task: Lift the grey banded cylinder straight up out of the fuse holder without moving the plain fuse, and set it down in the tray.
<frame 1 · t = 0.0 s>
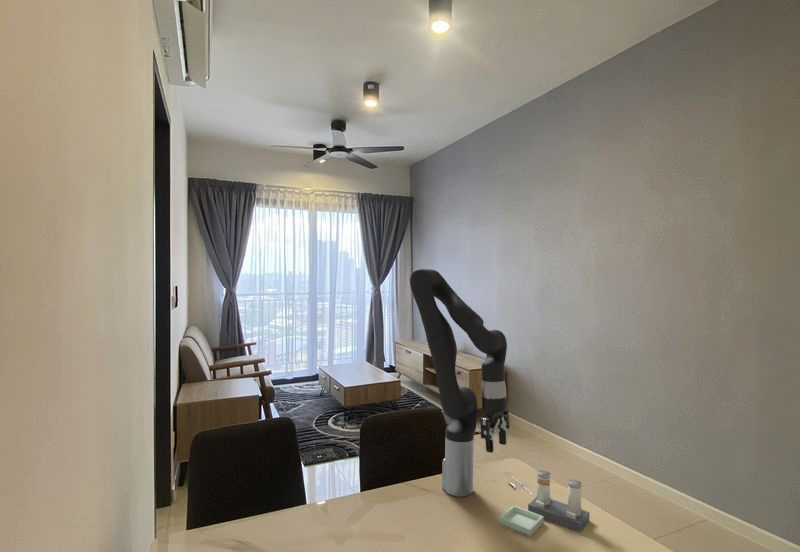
hand: (496, 448, 132), 17 cm above the table, tool pointing down, fingers open, 8 cm apart
picture light: (517, 487, 144), on the table
plain fuse: (574, 513, 122), point 2 cm above the table, touching fuse holder
fuse holder: (558, 516, 125), on the table
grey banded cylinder: (543, 502, 128), point 2 cm above the table, touching fuse holder
tray: (521, 524, 121), on the table
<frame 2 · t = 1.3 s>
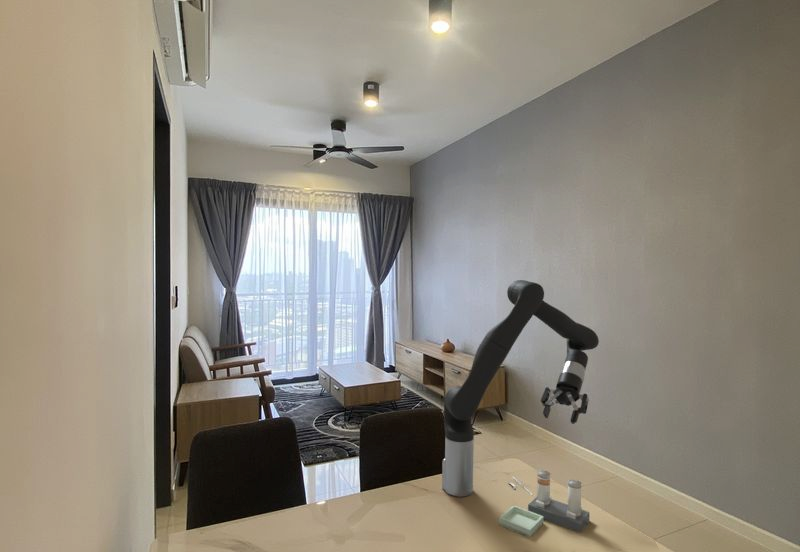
hand: (558, 419, 137), 25 cm above the table, tool tilted 45°, fingers open, 8 cm apart
nothing on the table moved.
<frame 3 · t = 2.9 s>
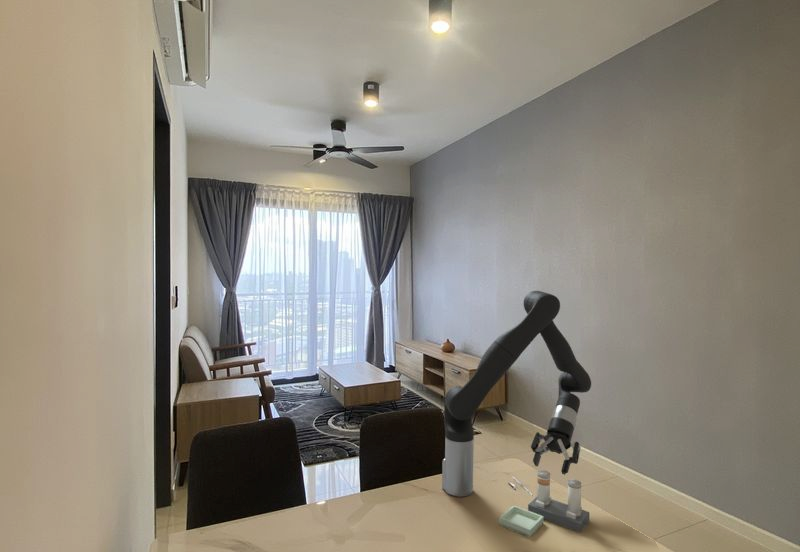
hand: (549, 469, 132), 11 cm above the table, tool tilted 45°, fingers open, 8 cm apart
nothing on the table moved.
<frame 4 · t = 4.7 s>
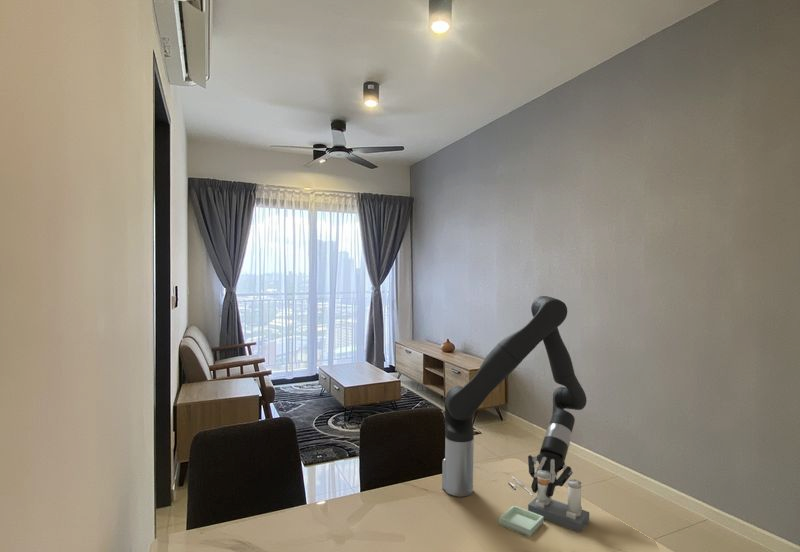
hand: (541, 493, 127), 6 cm above the table, tool tilted 45°, fingers closed on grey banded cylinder, 3 cm apart
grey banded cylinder: (543, 502, 128), point 3 cm above the table, touching fuse holder, gripper
everything else where it was.
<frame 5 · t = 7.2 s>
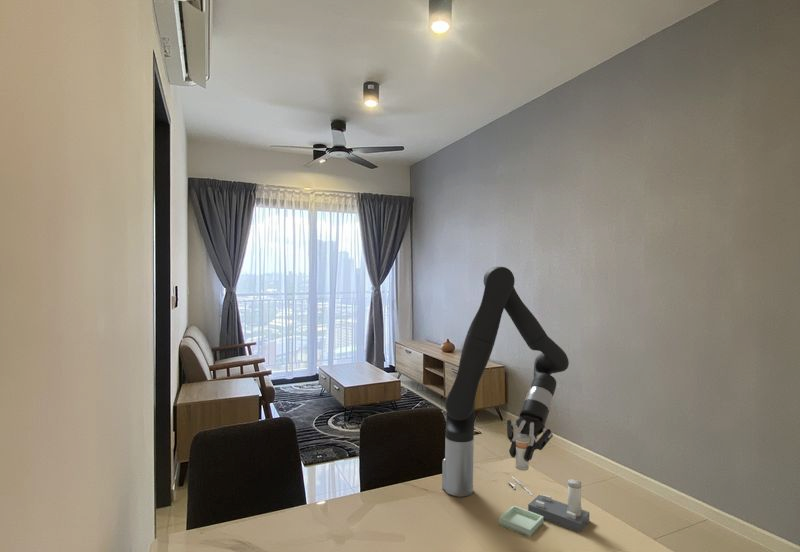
hand: (519, 457, 120), 19 cm above the table, tool tilted 45°, fingers closed on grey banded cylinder, 3 cm apart
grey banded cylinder: (522, 467, 121), point 16 cm above the table, touching gripper
everything else where it was.
when the fingers open (6 cm above the table, at t = 9.9 s): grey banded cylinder drops 2 cm, resting on tray.
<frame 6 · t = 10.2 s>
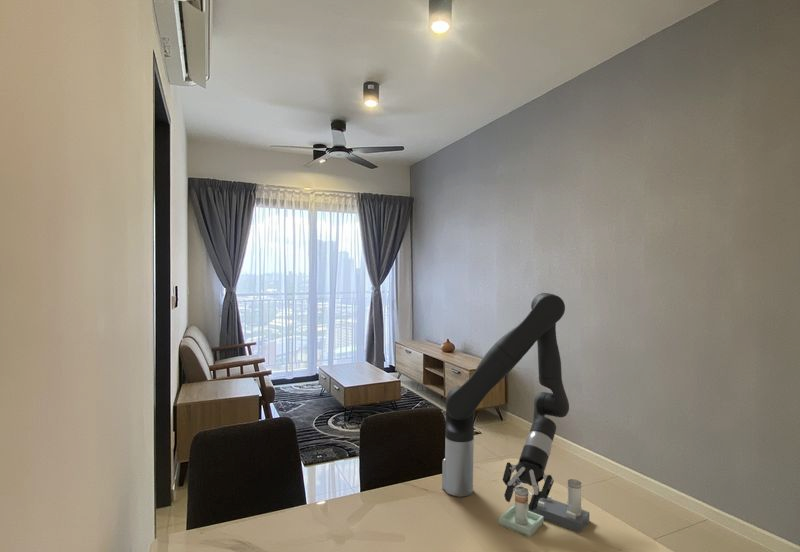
hand: (518, 504, 120), 6 cm above the table, tool tilted 45°, fingers open, 6 cm apart
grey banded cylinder: (521, 521, 121), point 1 cm above the table, touching tray
everything else where it was.
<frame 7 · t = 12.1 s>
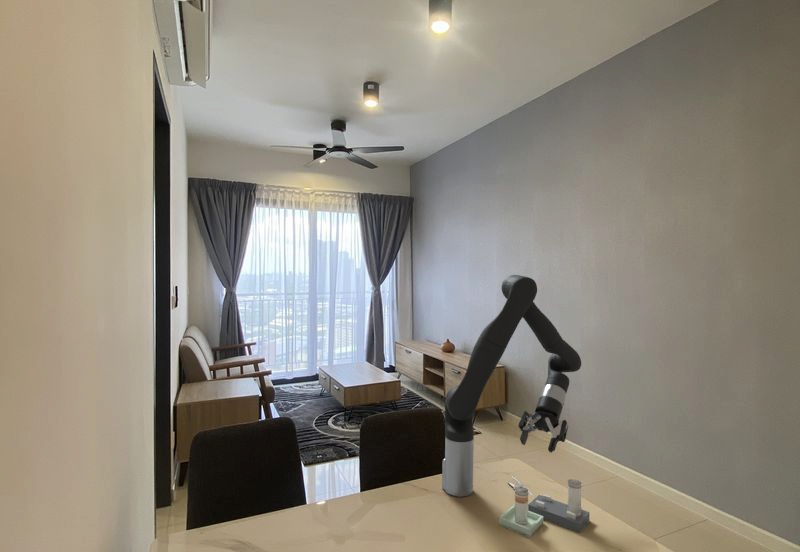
hand: (536, 447, 130), 19 cm above the table, tool tilted 45°, fingers open, 8 cm apart
nothing on the table moved.
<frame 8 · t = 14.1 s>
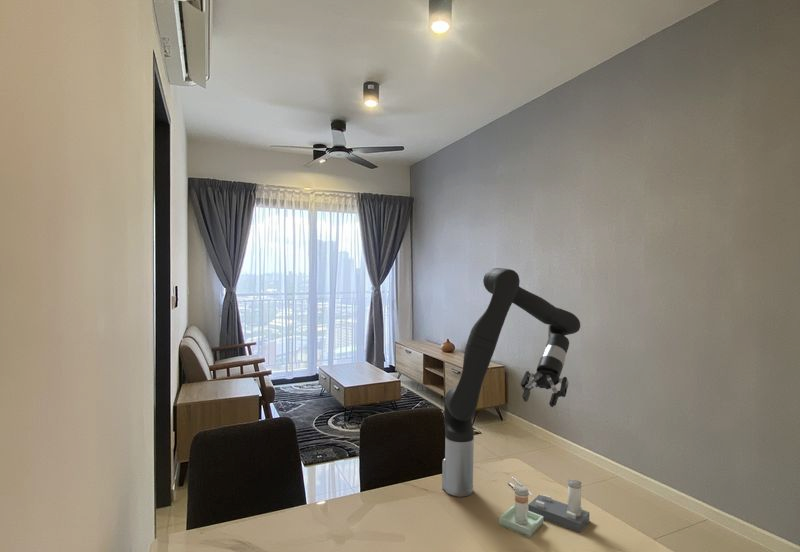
hand: (537, 402, 135), 31 cm above the table, tool tilted 45°, fingers open, 8 cm apart
nothing on the table moved.
at the end: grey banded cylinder inside the target area on the tray (0.1 cm from its centre), point 0.6 cm above the tray's base; plain fuse moved 0.0 cm from its start; the gripper is holding nothing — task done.
